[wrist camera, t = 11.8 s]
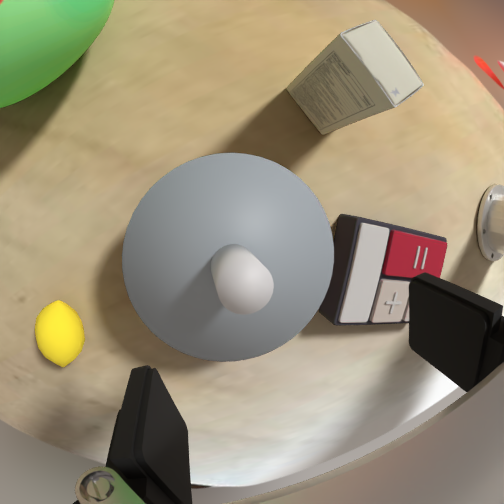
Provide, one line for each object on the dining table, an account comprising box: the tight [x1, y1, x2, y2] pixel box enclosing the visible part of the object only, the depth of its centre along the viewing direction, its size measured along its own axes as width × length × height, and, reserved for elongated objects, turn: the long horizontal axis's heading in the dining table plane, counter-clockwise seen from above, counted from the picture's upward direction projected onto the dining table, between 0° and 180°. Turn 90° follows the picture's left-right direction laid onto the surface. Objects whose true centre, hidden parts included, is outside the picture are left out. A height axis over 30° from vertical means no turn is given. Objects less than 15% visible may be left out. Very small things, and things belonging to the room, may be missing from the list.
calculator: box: [319, 214, 447, 325], centre depth 31 cm, size 11×4×15 cm
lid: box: [122, 153, 334, 362], centre depth 19 cm, size 16×16×6 cm
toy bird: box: [0, 0, 114, 108], centre depth 12 cm, size 18×17×15 cm
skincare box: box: [287, 20, 423, 135], centre depth 21 cm, size 6×4×12 cm
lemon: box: [35, 300, 85, 367], centre depth 24 cm, size 7×5×5 cm
